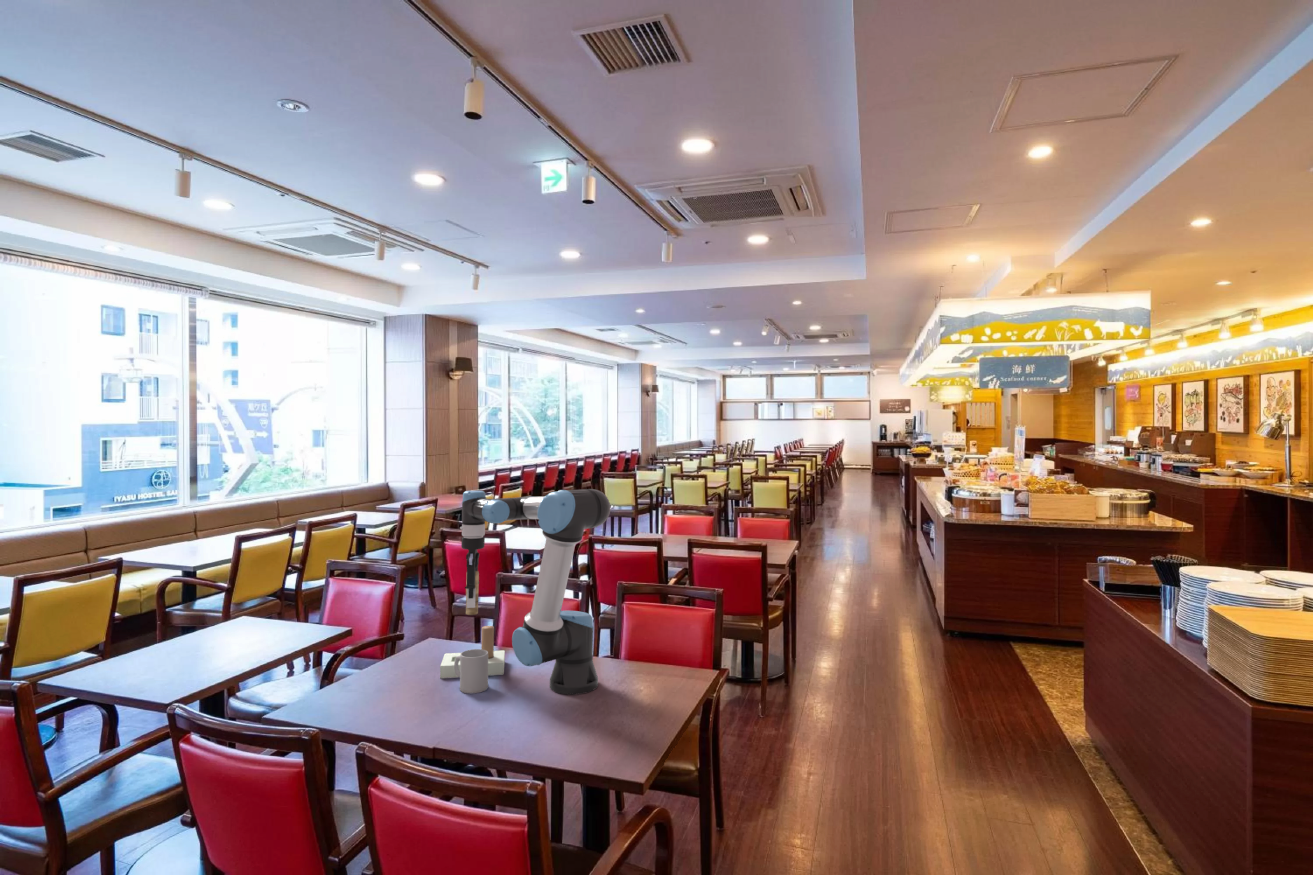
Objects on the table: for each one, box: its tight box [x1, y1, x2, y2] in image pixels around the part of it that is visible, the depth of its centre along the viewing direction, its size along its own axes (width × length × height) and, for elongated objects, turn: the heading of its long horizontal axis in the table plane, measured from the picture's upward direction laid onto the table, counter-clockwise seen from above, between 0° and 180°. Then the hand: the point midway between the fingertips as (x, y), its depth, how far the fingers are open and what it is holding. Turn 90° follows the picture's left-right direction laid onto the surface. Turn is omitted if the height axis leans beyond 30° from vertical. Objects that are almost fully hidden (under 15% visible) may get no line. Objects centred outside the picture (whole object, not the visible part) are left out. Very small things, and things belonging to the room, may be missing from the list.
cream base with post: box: [439, 625, 506, 679], centre depth 224 cm, size 20×13×14 cm, turn 101°
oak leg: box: [465, 570, 480, 616], centre depth 225 cm, size 4×4×14 cm
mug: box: [454, 648, 489, 694], centre depth 207 cm, size 12×8×11 cm
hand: (471, 605), depth 225 cm, fingers closed on oak leg, 4 cm apart
